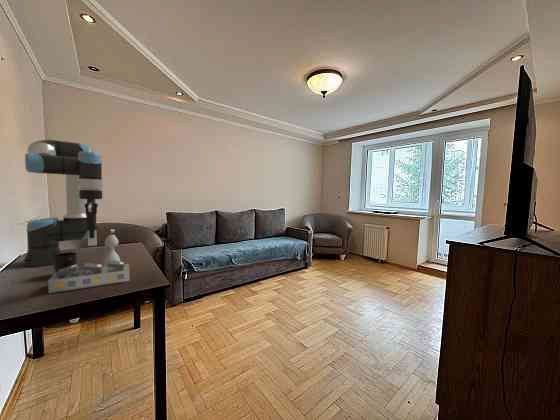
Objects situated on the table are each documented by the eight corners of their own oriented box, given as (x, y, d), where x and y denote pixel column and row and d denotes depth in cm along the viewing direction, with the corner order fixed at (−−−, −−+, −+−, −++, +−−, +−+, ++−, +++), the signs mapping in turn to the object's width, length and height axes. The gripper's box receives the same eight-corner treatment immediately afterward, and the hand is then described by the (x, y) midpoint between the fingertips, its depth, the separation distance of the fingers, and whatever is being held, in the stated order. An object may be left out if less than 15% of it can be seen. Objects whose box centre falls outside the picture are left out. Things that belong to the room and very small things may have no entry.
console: (54, 284, 98) (54, 271, 97) (129, 274, 112) (128, 262, 112) (48, 293, 89) (47, 279, 89) (129, 281, 104) (129, 268, 103)
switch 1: (60, 273, 96) (59, 269, 96) (78, 267, 100) (77, 263, 99) (58, 277, 92) (56, 273, 92) (77, 270, 95) (75, 266, 95)
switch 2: (84, 266, 101) (85, 262, 101) (101, 268, 104) (102, 264, 104) (82, 270, 96) (84, 265, 97) (100, 271, 100) (101, 267, 100)
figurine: (99, 268, 118) (98, 229, 117) (116, 264, 125) (115, 227, 124) (107, 271, 114) (106, 231, 113) (124, 267, 121) (123, 229, 120)
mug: (57, 281, 101) (56, 259, 100) (51, 274, 108) (50, 254, 107) (81, 276, 107) (81, 255, 107) (74, 270, 115) (74, 251, 114)
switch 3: (107, 264, 105) (108, 260, 105) (123, 265, 108) (124, 261, 108) (106, 267, 101) (108, 263, 101) (123, 268, 104) (124, 264, 104)
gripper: (81, 189, 101) (83, 243, 103) (76, 189, 90) (78, 249, 92) (103, 189, 105) (104, 241, 107) (101, 190, 94) (102, 247, 96)
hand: (92, 245), depth 99 cm, fingers closed
